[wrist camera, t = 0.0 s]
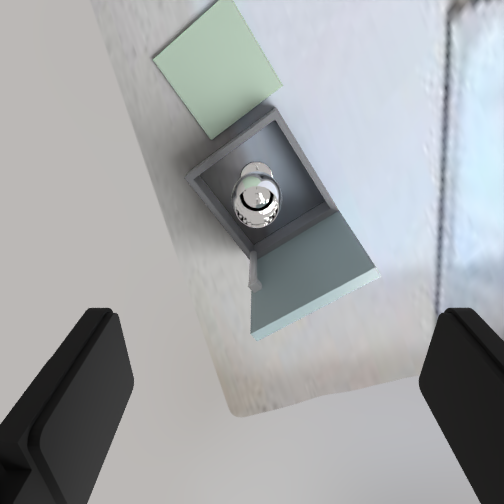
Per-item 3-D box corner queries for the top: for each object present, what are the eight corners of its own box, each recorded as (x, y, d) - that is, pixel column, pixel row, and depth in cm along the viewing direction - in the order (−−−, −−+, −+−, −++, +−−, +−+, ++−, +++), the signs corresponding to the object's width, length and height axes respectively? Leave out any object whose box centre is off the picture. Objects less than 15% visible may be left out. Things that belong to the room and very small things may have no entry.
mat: (153, 59, 39) (152, 59, 38) (228, -7, 36) (228, -8, 35) (211, 139, 43) (211, 140, 42) (282, 85, 40) (282, 85, 39)
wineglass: (275, 153, 43) (281, 176, 33) (279, 195, 46) (286, 229, 35) (232, 160, 44) (224, 184, 33) (239, 200, 47) (234, 235, 36)
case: (189, 171, 45) (150, 222, 28) (275, 107, 41) (288, 123, 24) (256, 257, 51) (257, 341, 34) (337, 208, 47) (381, 276, 30)
